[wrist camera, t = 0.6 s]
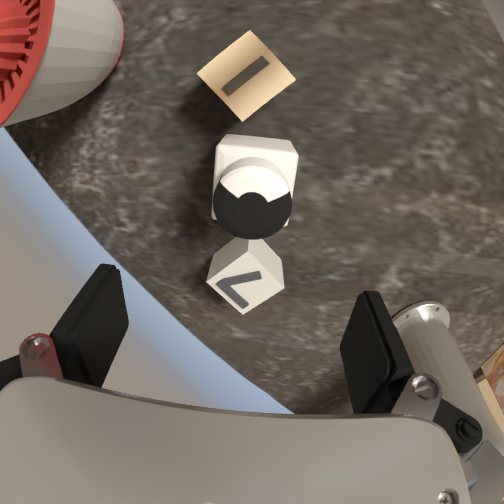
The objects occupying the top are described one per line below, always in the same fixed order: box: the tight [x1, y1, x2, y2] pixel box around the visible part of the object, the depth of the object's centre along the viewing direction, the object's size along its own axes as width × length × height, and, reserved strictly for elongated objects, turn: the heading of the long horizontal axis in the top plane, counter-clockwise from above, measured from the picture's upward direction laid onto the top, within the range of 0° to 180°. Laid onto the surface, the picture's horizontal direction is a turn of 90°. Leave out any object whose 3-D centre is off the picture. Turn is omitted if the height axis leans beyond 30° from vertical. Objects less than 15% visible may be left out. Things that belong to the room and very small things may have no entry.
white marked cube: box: [206, 237, 284, 314], centre depth 36 cm, size 6×6×6 cm
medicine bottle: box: [212, 134, 298, 240], centre depth 28 cm, size 7×7×12 cm
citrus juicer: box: [0, 0, 125, 128], centre depth 17 cm, size 16×17×20 cm
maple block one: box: [197, 30, 296, 122], centre depth 26 cm, size 6×6×6 cm
